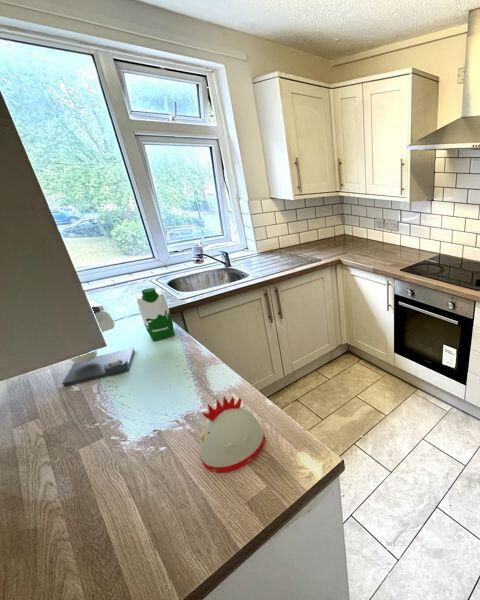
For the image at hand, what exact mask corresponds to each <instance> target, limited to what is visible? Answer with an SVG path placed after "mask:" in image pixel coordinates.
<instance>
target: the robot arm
mask: <svg viewBox="0 0 480 600" xmlns="http://www.w3.org/2000/svg"><path fill="white" fill-rule="evenodd" d="M89 302H90V304H91V306H92V309H93V311H94V314H95V316H96V319H97V321H98V323H99V326H100V328H101V330H102V332H101V333H104V332H107V331H109V330H113V329H114V328H115V326H116V324H115V322H114V320H113V318H112V316H111V314H110V313H109V312H107V311H105V307H104V306H103V305H102V304H100V303H99V302H95V301H89Z"/></svg>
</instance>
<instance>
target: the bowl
mask: <svg viewBox="0 0 480 600" xmlns="http://www.w3.org/2000/svg"><path fill="white" fill-rule="evenodd" d="M96 356H98V351H97V350H96V351H94V352H91V353H88V354H86V355H83V356H79V357H77V358H74V359H71V358H70V360H71V362H72V363H74V362H75V363H83V362H87V361H89V360H92V359H93V358H95V357H96Z"/></svg>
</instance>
